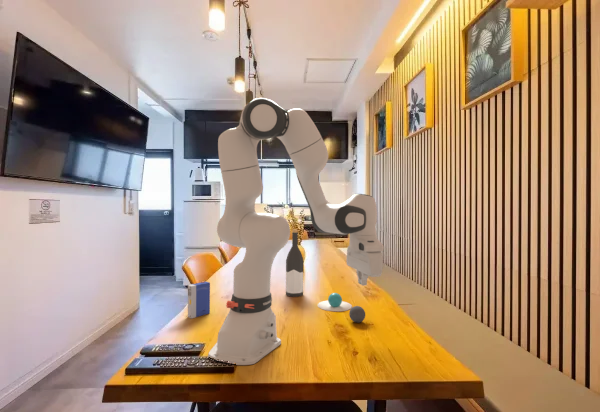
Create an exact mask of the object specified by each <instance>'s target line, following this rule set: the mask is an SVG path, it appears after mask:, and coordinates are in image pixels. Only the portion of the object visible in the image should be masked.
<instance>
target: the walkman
mask: <svg viewBox="0 0 600 412" xmlns="http://www.w3.org/2000/svg"><path fill="white" fill-rule="evenodd" d="M210 306H211V283H210V282H209V281H206V280H203V281H201V282H196V283H191V284H188V285H187V317H188V318H189V319H195V318H198V317H201V316H204V315H208V314H210V313H211V311H210V309H211V308H210Z"/></svg>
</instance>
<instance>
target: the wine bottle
mask: <svg viewBox="0 0 600 412" xmlns="http://www.w3.org/2000/svg"><path fill="white" fill-rule="evenodd" d="M298 236H299V233H298V229H297V228H296V229H295V228H293V229H292V240H291V242H292V243H291V247H290V249H289V251H288V254H287V256H286V260H285V294H286V296H287V297H292V298H296V297H297V298H298V297H302V296H303V295H304V264H305V263H304V257H303V254H302V251H301V250H300V247H299V245H298V243H299V242H298V240H299V239H298V238H299V237H298Z"/></svg>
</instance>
